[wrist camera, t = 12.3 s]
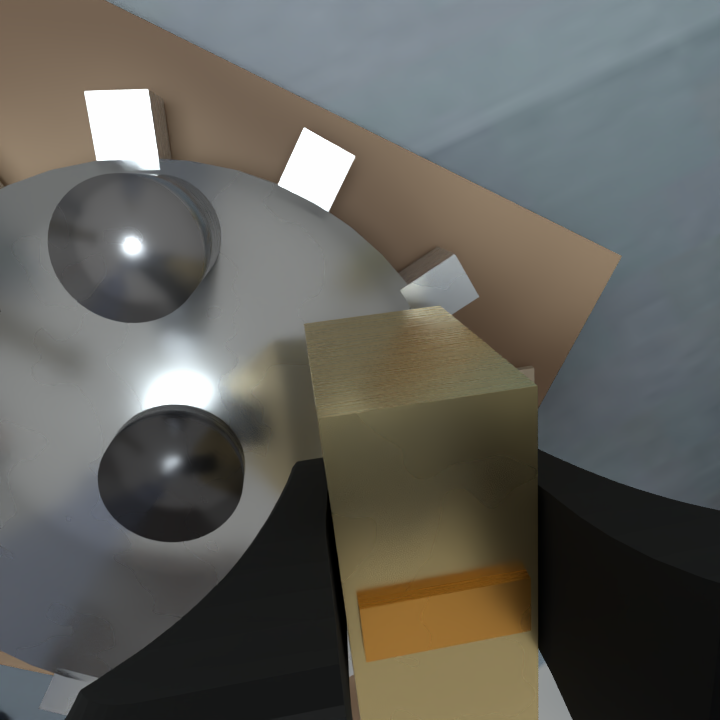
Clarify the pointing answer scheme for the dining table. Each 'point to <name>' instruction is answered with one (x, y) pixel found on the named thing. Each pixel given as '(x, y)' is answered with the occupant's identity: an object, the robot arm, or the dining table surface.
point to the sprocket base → (269, 159)
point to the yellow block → (431, 514)
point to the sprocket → (161, 376)
